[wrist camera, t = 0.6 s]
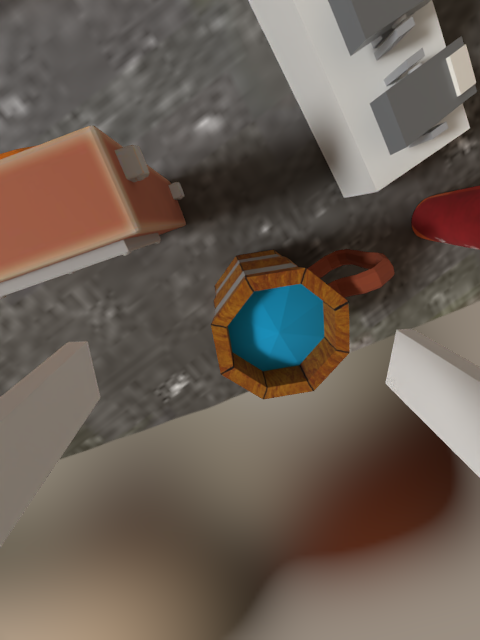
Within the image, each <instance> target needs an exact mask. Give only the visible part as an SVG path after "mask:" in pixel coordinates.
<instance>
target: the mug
mask: <svg viewBox="0 0 480 640" xmlns="http://www.w3.org/2000/svg"><path fill="white" fill-rule="evenodd" d="M350 264H353V265H356V266H360V267H363V268H367V269H369V270H367V271H364V272H362V273H359V274H357V275H353V276H349V277H344V278H341V279H338V280H335V281H333V282H331V283H329V284H326V283H325V282H323V281H322V280H321V279H320V278H322V277H323V276H324V275H326V274H327V273H328V272H330V271H331V270H333V269H335V268H338V267H340V266H342V265H350ZM393 275H394V268H393V266H392V264H391V262H390V261H389V260H388V258H387V257H386V256H385V255H384V254H382V253H373V252H363V251H358V250H350V249H344V250H338V251H335V252H332V253H330V254H328V255H326V256H324V257H323V258H322V259H320V260H319V261H317V262H316V263H315V264H313V265H312V266H310V267H309V268H304V267H298V266H297V265H296V264H295V263H293V262H292V261H291V260H289V259H288V258H287V257H283V256H281V255H280V254H279V253H277V252H276V251H275V250H269V251H263V252H256V253H250V254H244V255H238V256H236V257H235V258H234V260H233V261H232V262H231V264H230V265H229V267H228V268H227V269H226V271H225V272H224V274H223V275H222V276H221V278H220V279H219V281H218V282H217V283H216V285H215V291H216V297H215V299H214V306H215V317H214V319H213V321H212V323H211V328H212V332H213V337H214V342H215V347H216V352H217V357H218V362H219V367H220V372H221V375H223V376H225V377H226V378H228V379H230V380H232V381H233V382H235V383H237V384H238V385H240V386H242V387H243V388H245V389H247V390H248V391H250V392H252V393H253V394H255V395H257V396H258V397H260V398H262V399H268V398H274V397H280V396H285V395H292V394H298V393H304V392H310V391H314V390H315V389H316V388H317V387H318V386H319V385H320V384H321V383H322V382H323V381H324V379H326V377H327V376H328V375H329V374H330V373H331V372H332V371H333V370H334V369H335V368H336V367H337V366H338V364H339V363H340V362H341V361H342V360H343V359H344V358H345V357H346V356H347V355H348V354H349V301H347V300H346V299H345V297H349V296H353V295H359V294H364V293H367V292H370V291H373V290H375V289H378V288H381V287H382V286H383V285H384V284H385V283H386V282H388V281H389V280H390V279H391V278H392V277H393Z"/></svg>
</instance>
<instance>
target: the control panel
mask: <svg viewBox="0 0 480 640" xmlns="http://www.w3.org/2000/svg"><path fill="white" fill-rule="evenodd" d="M184 196H185V195H184V193H183V190H182V187H181V184H180V183H179V182H177V183H176V182H175V183H172V184H171V182H170V181H168V180H167V179H166V178H164V177H163V176H162V175H160V174H159V173H157V172H156V171H155V170H153V169H152V168H151V167H149V166H148V165H147V164H146V162H145V160H144V157H143V155H142V152H141V150H140V147H139V146H136V145H130V146H126V147H124V148H123V147H122V146H121V145H119V144H118V143H117V142H115V141H114V140H113V139H111V138H110V137H109V136H107V135H106V134H104V133H103V132H102V131H100V130H99V129H98V128H96V127H95V126H88V127H85V128H83V129H80V130H77V131H75V132H72V133H69V134H67V135H64V136H61V137H59V138H56V139H54V140H51V141H48V142H46V143H43V144H40V145H38V146H33V147H27V148H21V149H16V150H13V151H9V152H6V153H2V154H0V299H2V298H5V297H6V295H7V294H10V293H13V292H16V291H19V290H22V289H25V288H27V287H30V286H33V285H36V284H39V283H42V282H45V281H48V280H50V279H53V278H56V277H59V276H62V275H65V274H68V273H69V274H72V273H74V272H73V271H76V270H79V269H82V268H85V267H88V266H91V265H93V264H96V263H99V262H102V261H105V260H108V259H111V258H113V257H116V256H119V255H122V254H123V255H128V254H130V253H131V251H133V250H136V249H139V248H142V247H145V246H148V245H151V244H153V243H155V244H158V243H160V241H161V239H160V237H159V235H160V234H163V233H166V232H169V231H171V230H174V229H177V228H180V227H183V226H185V225H186V222H185V219H184V216H183V214H182V211H181V208H180V206H179V203H178V200H180V199H182V198H183V197H184ZM156 242H157V243H156ZM4 295H5V296H4Z"/></svg>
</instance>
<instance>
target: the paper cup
mask: <svg viewBox="0 0 480 640" xmlns="http://www.w3.org/2000/svg"><path fill="white" fill-rule="evenodd" d="M411 223H412V229H413V231H414V233H415V234H416V235H417V236H418V237H420V238H423V239H427V240H431V241H436V242H442V243H447V244H452V245H458V246H463V247H468V248H474V249H479V250H480V186H476V187H471V188H466V189H461V190H456V191H451V192H447V193H442V194H438V195H434V196H430V197H428V198H426V199H424V200H423V201H422V202H421V203H420V204H419V205H418V206H417V207H416V209H415V211H414V213H413V216H412V222H411Z"/></svg>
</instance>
